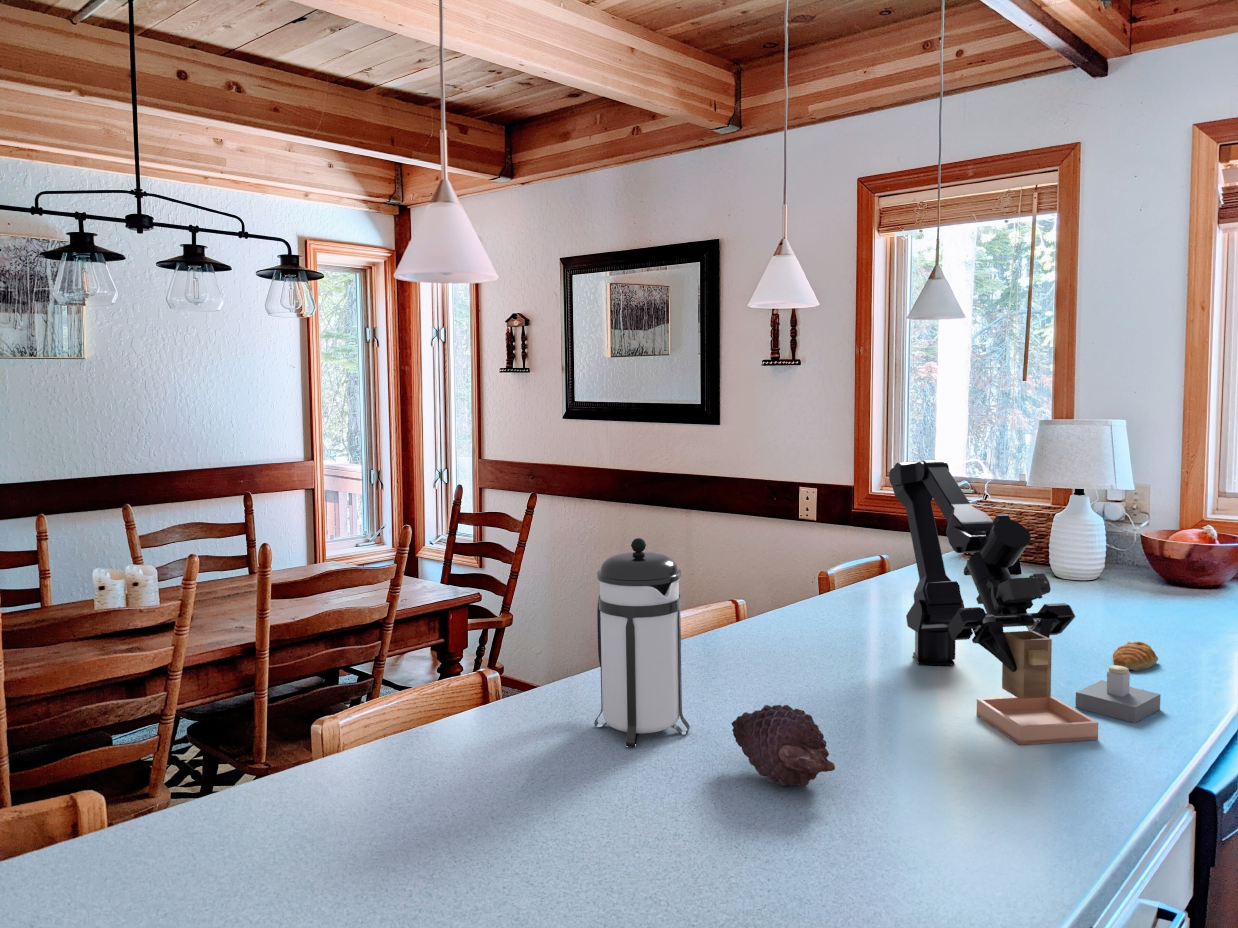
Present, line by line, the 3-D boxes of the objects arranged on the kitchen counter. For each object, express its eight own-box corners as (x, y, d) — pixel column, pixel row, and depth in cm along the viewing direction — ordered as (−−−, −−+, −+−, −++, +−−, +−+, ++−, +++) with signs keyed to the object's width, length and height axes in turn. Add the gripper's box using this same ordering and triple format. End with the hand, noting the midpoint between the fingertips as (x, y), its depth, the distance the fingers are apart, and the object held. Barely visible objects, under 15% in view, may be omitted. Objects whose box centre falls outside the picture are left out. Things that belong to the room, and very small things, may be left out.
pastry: (1144, 675, 159) (1145, 654, 158) (1103, 668, 163) (1104, 647, 163) (1159, 663, 165) (1160, 643, 165) (1119, 656, 170) (1119, 637, 170)
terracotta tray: (976, 714, 141) (976, 698, 141) (1048, 709, 142) (1049, 694, 142) (1019, 744, 129) (1019, 727, 129) (1097, 739, 130) (1098, 722, 130)
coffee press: (701, 715, 143) (699, 531, 140) (675, 754, 128) (672, 548, 125) (600, 704, 149) (597, 527, 146) (564, 740, 134) (559, 544, 131)
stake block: (1075, 706, 143) (1076, 667, 143) (1101, 694, 149) (1102, 656, 148) (1135, 722, 136) (1136, 681, 136) (1160, 709, 142) (1161, 668, 141)
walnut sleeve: (1002, 688, 140) (1002, 632, 139) (1031, 686, 141) (1032, 630, 140) (1024, 701, 134) (1025, 642, 133) (1055, 699, 134) (1056, 641, 134)
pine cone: (710, 766, 124) (710, 696, 123) (763, 749, 129) (762, 682, 128) (804, 814, 109) (804, 735, 108) (858, 792, 115) (859, 717, 114)
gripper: (957, 557, 139) (993, 646, 129) (1069, 553, 141) (1113, 640, 131) (933, 596, 148) (966, 682, 137) (1039, 591, 150) (1079, 675, 139)
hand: (1031, 669), depth 136 cm, fingers closed on walnut sleeve, 5 cm apart
